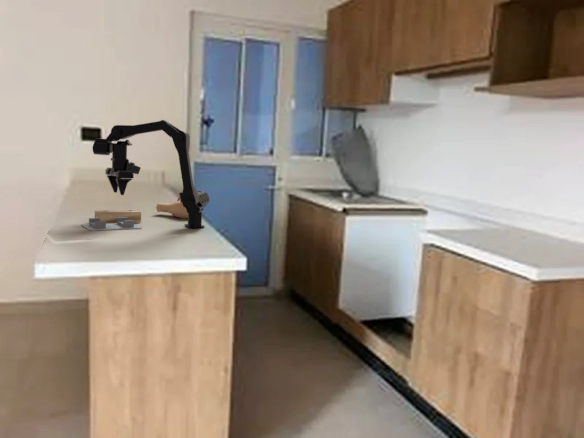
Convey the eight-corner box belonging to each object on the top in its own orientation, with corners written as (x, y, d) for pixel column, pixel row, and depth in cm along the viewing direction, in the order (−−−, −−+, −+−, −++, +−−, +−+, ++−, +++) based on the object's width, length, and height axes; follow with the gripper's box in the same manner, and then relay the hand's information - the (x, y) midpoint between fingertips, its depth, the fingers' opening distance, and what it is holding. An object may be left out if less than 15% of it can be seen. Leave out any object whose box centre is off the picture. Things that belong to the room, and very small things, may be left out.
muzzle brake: (209, 210, 283) (210, 190, 281) (194, 217, 255) (195, 195, 253) (191, 209, 283) (192, 189, 282) (174, 216, 256) (175, 194, 254)
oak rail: (141, 223, 231) (141, 211, 230) (96, 224, 223) (96, 211, 222) (138, 221, 235) (138, 209, 234) (94, 222, 226) (94, 209, 226)
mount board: (141, 228, 217) (141, 221, 216) (89, 230, 205) (89, 223, 205) (131, 223, 227) (131, 216, 227) (81, 225, 216) (81, 217, 216)
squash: (192, 221, 243) (192, 201, 242) (151, 217, 248) (151, 197, 246) (202, 218, 253) (202, 199, 252) (162, 214, 258) (163, 195, 257)
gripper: (146, 158, 222) (145, 196, 224) (131, 155, 237) (130, 191, 239) (119, 157, 216) (118, 196, 218) (105, 154, 231) (104, 191, 233)
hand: (118, 193), depth 227 cm, fingers open, 9 cm apart
